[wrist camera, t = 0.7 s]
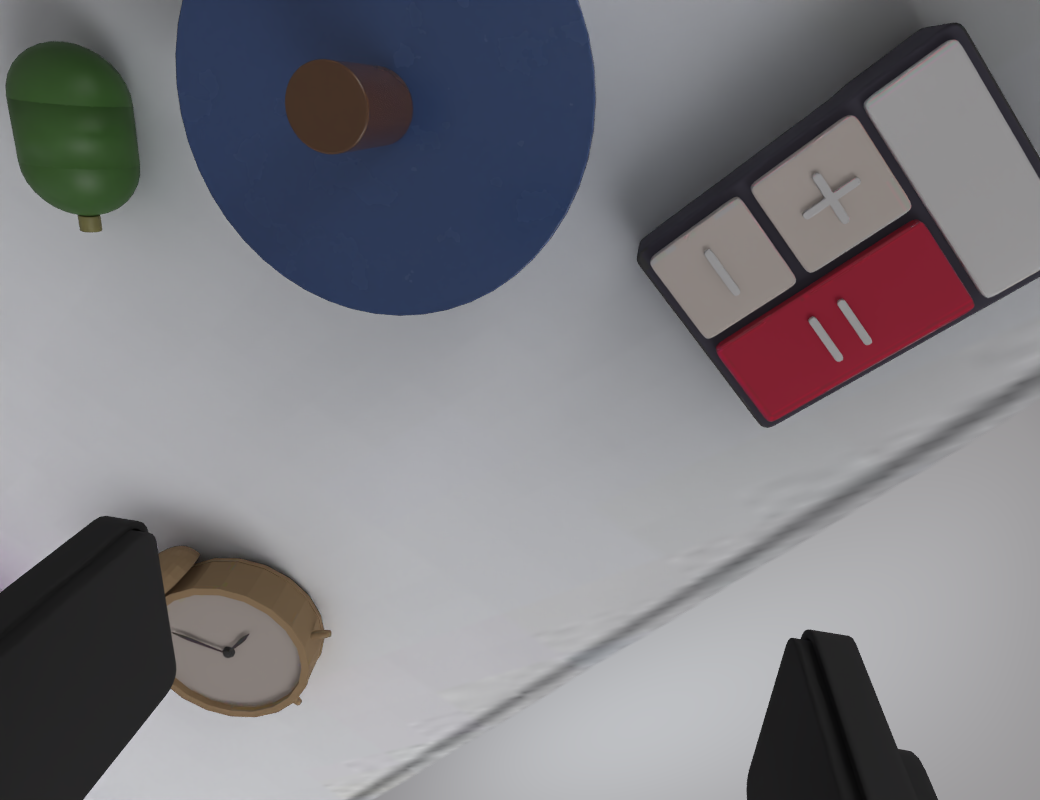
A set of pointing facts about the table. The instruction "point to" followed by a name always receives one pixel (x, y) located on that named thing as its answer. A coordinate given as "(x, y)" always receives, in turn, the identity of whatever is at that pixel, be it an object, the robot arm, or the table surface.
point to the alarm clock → (238, 633)
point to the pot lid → (389, 138)
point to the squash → (73, 130)
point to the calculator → (857, 229)
